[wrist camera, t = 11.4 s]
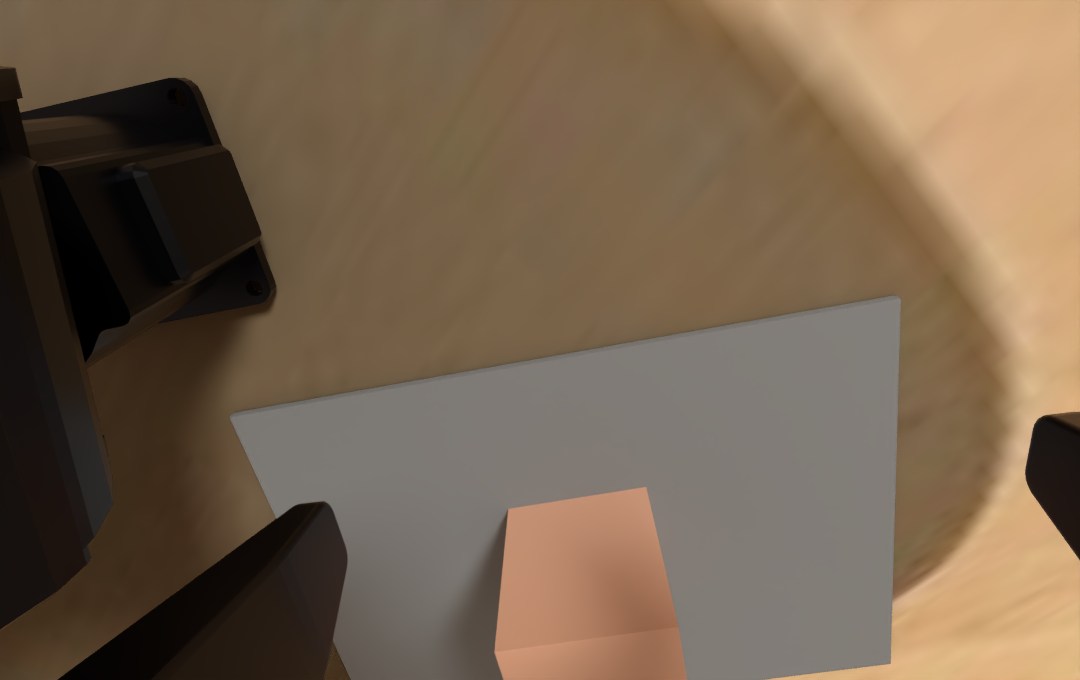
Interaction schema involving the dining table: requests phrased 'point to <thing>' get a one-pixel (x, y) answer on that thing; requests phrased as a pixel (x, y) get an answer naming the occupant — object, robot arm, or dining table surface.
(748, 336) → the mat
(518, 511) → the block
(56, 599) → the dining table surface
